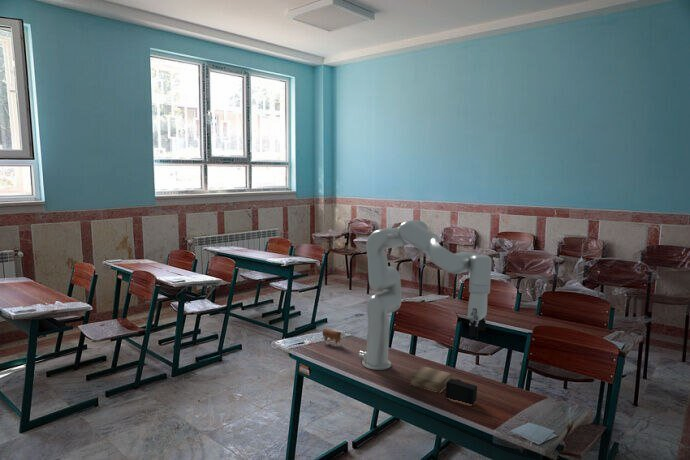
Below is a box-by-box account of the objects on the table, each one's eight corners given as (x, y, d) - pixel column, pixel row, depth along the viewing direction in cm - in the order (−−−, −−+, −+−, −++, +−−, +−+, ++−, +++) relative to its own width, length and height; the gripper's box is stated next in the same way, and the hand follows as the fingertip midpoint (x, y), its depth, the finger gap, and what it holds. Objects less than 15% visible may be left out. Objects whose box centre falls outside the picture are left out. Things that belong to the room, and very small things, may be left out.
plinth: (409, 385, 194) (410, 375, 194) (422, 374, 205) (423, 365, 204) (440, 393, 187) (440, 383, 187) (451, 382, 198) (452, 373, 198)
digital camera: (477, 402, 182) (478, 384, 181) (472, 407, 177) (473, 389, 176) (450, 394, 187) (452, 377, 187) (445, 399, 183) (446, 381, 182)
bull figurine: (343, 349, 231) (344, 332, 230) (320, 343, 238) (321, 327, 237) (348, 347, 234) (349, 330, 233) (325, 341, 241) (326, 324, 241)
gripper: (476, 283, 191) (473, 326, 193) (462, 290, 176) (460, 337, 178) (495, 285, 187) (493, 329, 189) (483, 293, 172) (480, 341, 174)
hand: (477, 333), depth 183 cm, fingers open, 9 cm apart
